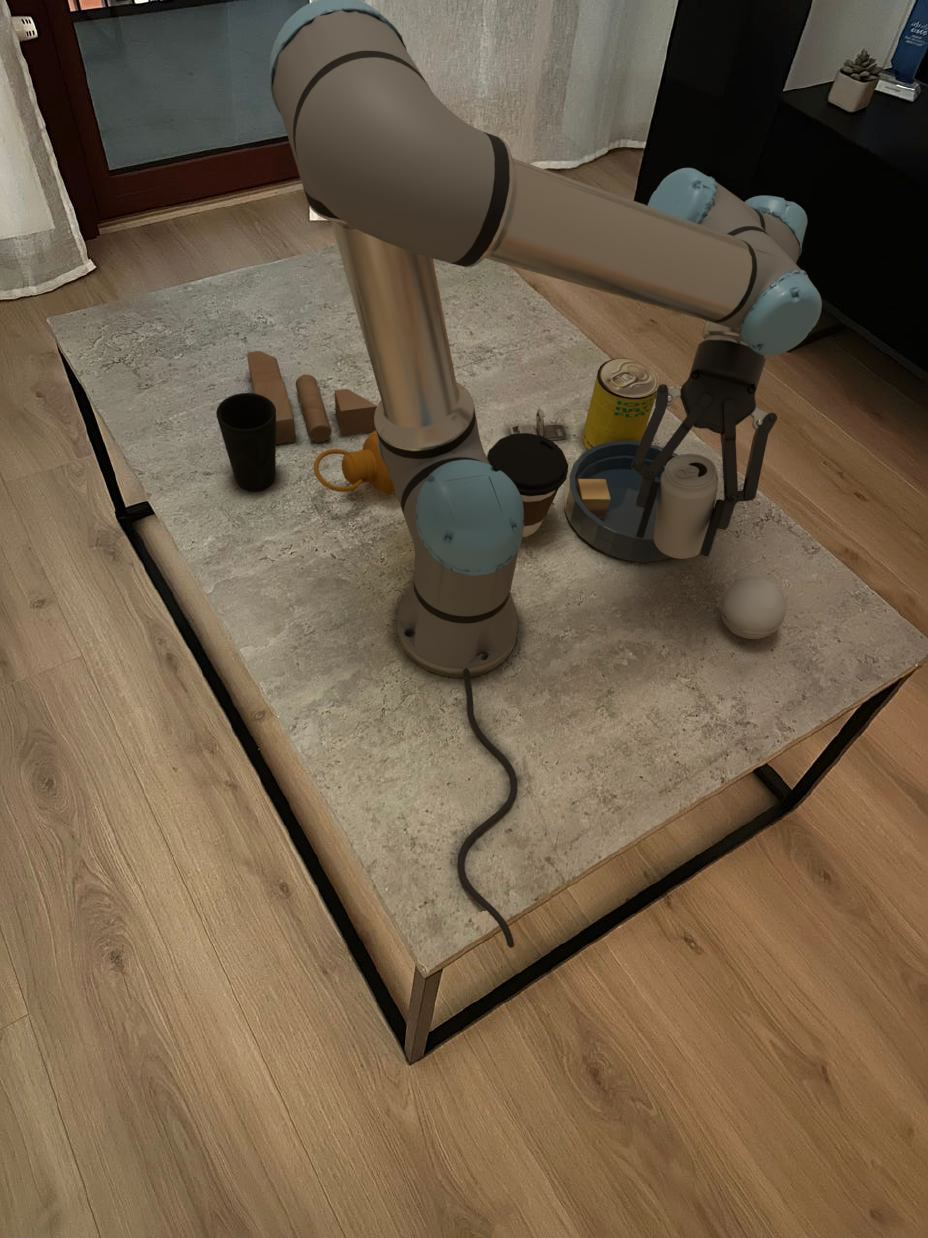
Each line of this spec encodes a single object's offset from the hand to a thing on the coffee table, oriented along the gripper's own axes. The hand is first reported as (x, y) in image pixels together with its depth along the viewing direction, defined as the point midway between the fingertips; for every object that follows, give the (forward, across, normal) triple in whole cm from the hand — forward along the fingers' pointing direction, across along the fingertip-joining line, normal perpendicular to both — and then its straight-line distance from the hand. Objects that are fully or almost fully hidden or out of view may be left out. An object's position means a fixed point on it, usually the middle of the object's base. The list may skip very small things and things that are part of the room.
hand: (671, 546), depth 103 cm
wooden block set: (-6, +56, -30) cm, 64 cm away
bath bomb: (+8, -13, -16) cm, 22 cm away
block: (-2, +11, -24) cm, 27 cm away
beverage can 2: (-1, -1, -7) cm, 7 cm away
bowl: (-3, +5, -26) cm, 27 cm away
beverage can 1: (-13, +10, -36) cm, 40 cm away
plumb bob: (+2, +38, -22) cm, 44 cm away
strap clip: (-11, +22, -34) cm, 42 cm away
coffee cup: (+3, +20, -21) cm, 29 cm away
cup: (+7, +57, -17) cm, 60 cm away
